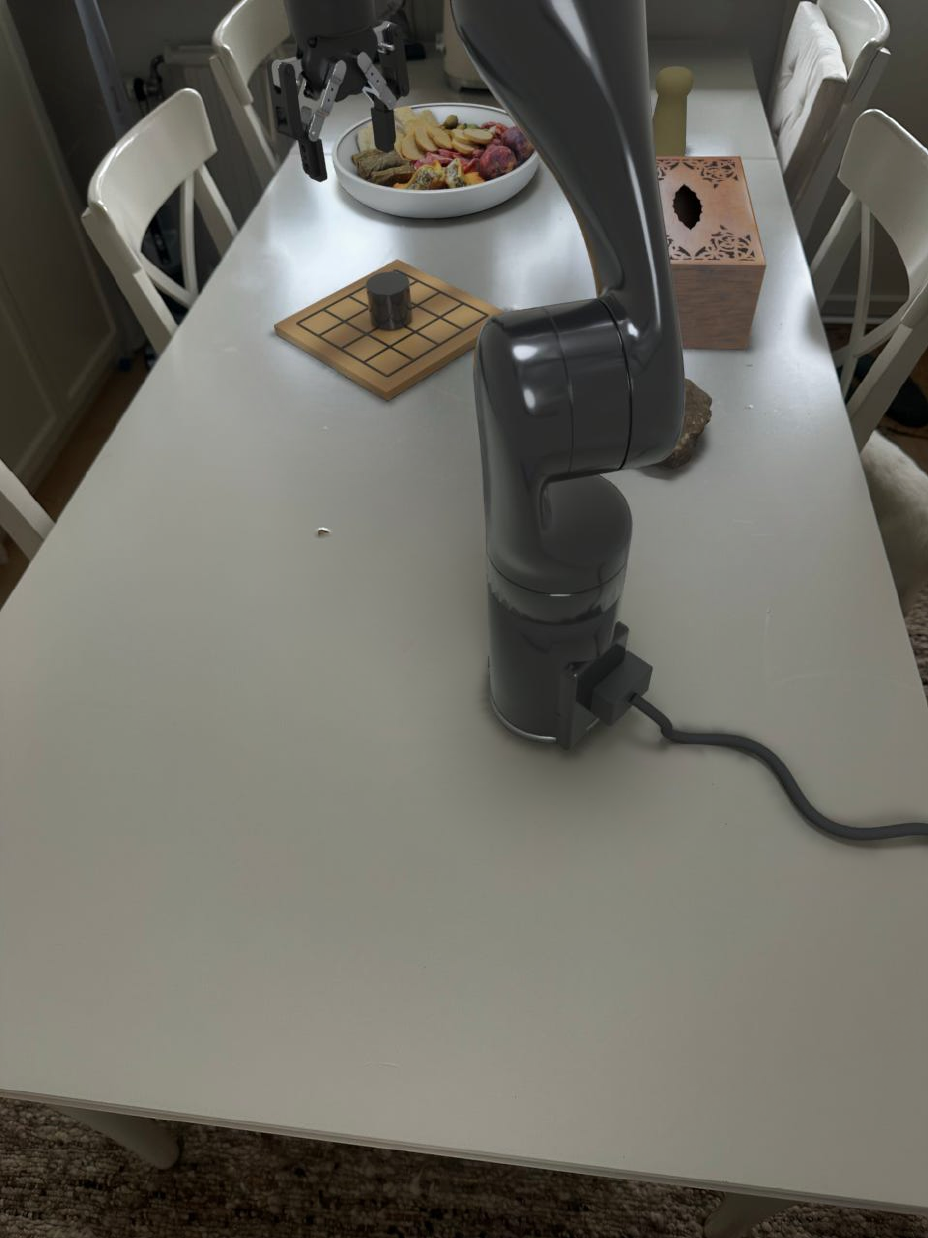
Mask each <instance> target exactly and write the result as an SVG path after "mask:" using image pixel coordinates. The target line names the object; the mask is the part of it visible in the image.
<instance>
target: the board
mask: <svg viewBox="0 0 928 1238" xmlns="http://www.w3.org/2000/svg"><path fill="white" fill-rule="evenodd" d="M382 272H398V273H401V274H404V275H405V276H407V278H408V279H409V283H410V293H411V304H412V314H413V318H412V321H411V322H410V323H409V324H408V325H407V326H405V327H403V328H400V329H395V330H383V329H379V328H377V327H375V326H374V325H373V324H372V323H371V320H370V313H369V306H368V299H367V292H366V282H367V280H368V279H369V278H370V277H372V276H373V275H376V274H378V273H382ZM505 312H506V311H505V310H502V309H501V308H499V307H496V306H495V305H493V304H490V303H488V302H486V301H484V300H482V299H480V298H478V297H476V296H474V295H472V294H470V293H468V292H466V291H464V290H462V289H460V288H457V287H455V286H454V285H451V284H449V283H447V282H445V281H443V280H441V279H439V278H437V277H436V276H433V275H431V274H429V273H427V272H424V271H423V270H421V269H419V268H417V267H414V266H412V265H410V264H408V263H406V262H404V261H403V260H400V259H398V258H396V259H395V260H393V261H391V262H389V263H387V264H385V265H383V266H381V267H379V268H377V269H376V270H374V271H372V272H370V273H368V274H366V275H365V276H363V277H360V278H359V279H357V280H355V281H354V282H351V283H350V284H348V285H346V286H344V287H342V288H340V289H338V290H337V291H334V292H332V293H331V294H329V295H327V296H325V297H323V298H321V299H320V300H317V301H315V302H314V303H312V304H310V305H308V306H307V307H304V308H303V309H300V310H299V311H297V312H295V313H294V314H291V315H289V316H288V317H286V318H283V319H282V320H280V321H278V322H276V323H274V324H273V328H274V332H275V333H274V334H275V335H277V336H279V337H280V338H282V339H284V340H285V341H287V342H289V343H291V344H292V345H294V346H295V347H297V348H299V349H300V350H302V351H304V352H305V353H306V354H309V355H310V356H312V357H313V358H315V359H316V360H318V361H320V362H322V363H323V364H325V365H327V366H328V367H330V368H332V369H333V370H335V371H337V372H338V373H340V374H341V375H343V376H345V377H347V378H349V379H350V380H351V381H353V382H355V383H356V384H358V385H360V386H361V387H363V388H365V389H366V390H368V391H370V392H371V393H373V394H375V395H376V396H378V397H380V398H381V399H382V400H384V401H386V402H389V401H390V400H392V399H393V398H395V397H397V396H398V395H400V394H401V393H403V392H405V391H406V390H408V389H409V388H411V387H412V386H414V385H417V383H419V382H420V381H422V380H424V379H425V378H427V377H429V376H430V375H432V374H434V373H436V372H437V371H438V370H440V369H442V368H443V367H445V366H446V365H448V364H449V363H451V362H452V361H454V360H456V359H458V358H459V357H460V356H463V355H464V354H466V353H468V352H469V351H470V350H472V349H473V348H475V344H476V339H477V336H478V334H479V331H480V329H481V327H482V326H483V324H484V323H485V322H486V320H487V319H489V318H490V317H492V316H494V315H497V314H500V313H505Z"/></svg>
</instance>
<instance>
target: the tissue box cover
mask: <svg viewBox="0 0 928 1238" xmlns="http://www.w3.org/2000/svg"><path fill="white" fill-rule="evenodd" d="M656 162H657V170H658V178H659V185H660V193H661V200H662V207H663V214H664V221H665V228H666V235H667V242H668V249H669V256H670V262H671V269H672V276H673V283H674V290H675V296H676V303H677V310H678V318H679V325H680V333H681V341H682V349H696V350H697V349H700V350H701V349H703V350H707V349H708V350H747V348H748V345H749V344H748V343H749V339H750V337H751V336H750V335H751V331H752V327H753V323H754V319H755V315H756V310H757V306H758V303H759V297H760V294H761V290H762V286H763V282H764V277H765V274H766V269H767V262H766V257H765V253H764V249H763V245H762V240H761V236H760V233H759V228H758V224H757V219H756V216H755V215H756V214H755V212H754V207H753V204H752V203H753V202H752V198H751V194H750V189H749V186H748V181H747V178H746V173H745V170H744V165H743V160H742V157H741V156H740V155H738V156H737V155H727V156H725V155H724V156H721V155H719V156H718V155H717V156H715V155H714V156H713V155H710V156H705V155H704V156H702V155H701V156H698V155H697V156H696V155H693V156H687V155H684V156H670V157H656Z"/></svg>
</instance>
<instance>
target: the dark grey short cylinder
mask: <svg viewBox="0 0 928 1238" xmlns="http://www.w3.org/2000/svg"><path fill="white" fill-rule="evenodd" d="M366 292H367V299H368V306H369V313H370V320H371V323H372V324H373V325H374V326H375V327H377V328H379V329H383V330H395V329H400V328H403V327H405V326H407V325H408V324H409V323H410V322H411V321H412V318H413V314H412V304H411V293H410V283H409V279H408V278H407V276H405V275H404V274H401V273H398V272H382V273H378V274H376V275H373V276H372V277H370V278H369V279H368V280H367V282H366Z"/></svg>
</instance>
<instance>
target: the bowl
mask: <svg viewBox="0 0 928 1238" xmlns="http://www.w3.org/2000/svg"><path fill="white" fill-rule="evenodd" d="M394 119H395V129H396V130H395V131H396V142H395V143H394V150H393V151H391V152H389V153H385V152H383V151H380V150H378V149H377V148H376V147H375V143H374V134H373V126H372V117H371V116H369V117H366V118H364V119H362V120H360V121H358V122H356V123H355V124H354V123H353V124H352V125H351V126H350V127H348V128H347V129H345V130H344V131H343V132H342V133H341V134H340V135H339V136H338V137H337V139H336V140H335V142H334V144H333V146H332V149H331V159H332V165H333V169H334V172H335V175H336V178H337V179H338V181H339V183H340V185H342V187H343V188H344V189H345V190H346V192H347V193H348V194H349V195H350V196H351V197H353V198H354V199H355V200H356V201H358V202H360V204H363V205H365V206H367V207H369V208H371V209H374V210H376V211H378V212H382V213H385V214H388V215H392V216H398V217H404V218H413V219H445V218H455V217H460V216H466V215H471V214H475V213H479V212H482V211H485V210H488V209H491V208H493V207H496V206H498V205H501V204H503V203H504V202H506V201H508V200H510V199H511V198H513V197H514V196H515V195H517V194H518V193H519V192H520V191H522V190H523V189H524V188H525V187H526V186H527V185H528V184H529V182H530V181H531V180H532V179H533V177H534V175H535V173H536V172H537V169H538V167H539V164H540V161H541V158H540V156H539V155H538V153H537V152H536V151H535V149H534V148H533V147H532V145H531V144H530V143H529V142H528V140H527V139H526V138H525V136H524V135H523V134H522V132H521V131H520V130H519V129H518V127H517V126H516V125H515V123H514V122H513V121H512V119H511V118H510V117H509V115H508V114H507V113H506V112H505V110H504V109H503V108H498V107H494V106H489V105H486V104H485V105H484V104H479V103H478V104H477V103H468V102H433V103H431V102H430V103H422V104H421V103H419V104H414V105H404V106H402V107H396V108H394Z"/></svg>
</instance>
